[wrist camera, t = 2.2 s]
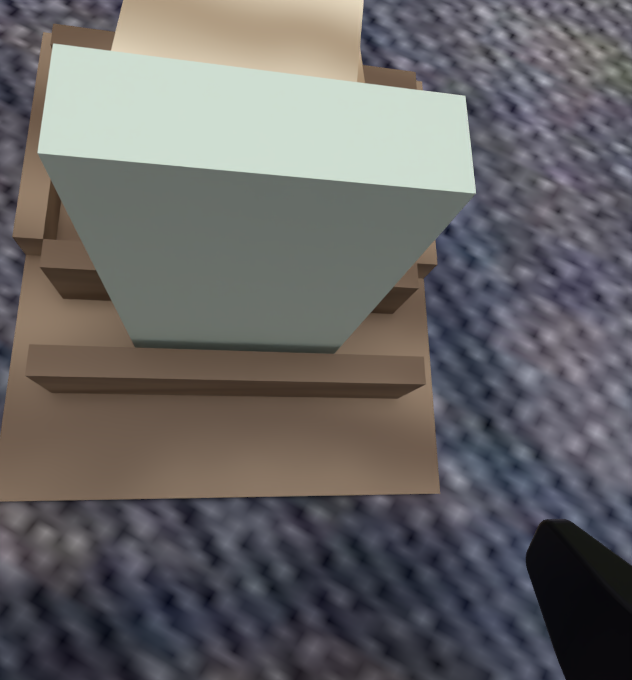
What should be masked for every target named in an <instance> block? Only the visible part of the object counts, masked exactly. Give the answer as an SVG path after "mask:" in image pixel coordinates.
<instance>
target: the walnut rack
mask: <svg viewBox="0 0 632 680" xmlns="http://www.w3.org/2000/svg"><path fill="white" fill-rule="evenodd" d="M114 36H115V32H111V31H104V30H96V29H89V28H81V27H74V26H66V25H59V24H53V29H52V33H45V32H43V38H42V44H41V51H40V57H39V64H38V71H37V77H36V84H35V91H34V97H33V104H32V110H31V117H30V124H29V130H28V137H27V144H26V150H25V157H24V163H23V170H22V177H21V183H20V190H19V197H18V203H17V210H16V217H15V223H14V230H13V236H12V237H13V238H14V240H15V241H16V242H17V244H18V245H19V246H20V248H21V249H22V250H23V252H24V253H25V254H26V258H25V265H24V272H23V279H22V287H21V294H20V301H19V308H18V315H17V322H16V329H15V336H14V343H13V350H12V357H11V364H10V371H9V378H8V385H7V392H6V399H5V406H4V413H3V420H2V427H1V435H0V501H54V500H109V499H165V498H220V497H275V496H330V495H386V494H440V487H439V474H438V461H437V448H436V435H435V422H434V409H433V395H432V382H431V369H430V356H429V343H428V330H427V317H426V304H425V291H424V278H425V277H426V276H427V275H428V274H429V273H430V271H431V270H432V269H433V268H434V267H435V266H436V265H437V255H436V243H435V240H434V241H433V243H432V244H431V245H430V246H429V247H428V248H427V249H426V251H425V252H424V253H423V254H422V255H421V256H420V257H419V258H418V260H417V261H416V262H415V263H414V264H413V265H412V266H411V267H410V269H409V270H408V271H407V272H406V273H405V274H404V275H403V277H402V278H401V279H400V280H399V281H398V282H397V283H396V284H395V286H394V287H393V288H392V289H391V290H390V291H389V292H388V294H387V295H386V296H385V297H384V298H383V299H382V300H381V301H380V303H379V304H378V305H377V306H376V307H375V308H374V309H373V310H372V312H371V313H370V314H369V315H368V316H367V317H366V318H365V320H364V321H363V322H362V323H361V324H360V325H359V326H358V327H357V329H356V330H355V331H354V332H353V333H352V334H351V335H350V337H349V338H348V339H347V340H346V341H345V342H344V343H343V344H342V346H341V347H340V348H339V349H338V350H337V351H336V352H335V353H334V354H324V353H292V352H260V351H228V350H196V349H164V348H135V346H134V344H133V342H132V340H131V338H130V336H129V334H128V332H127V330H126V328H125V326H124V324H123V322H122V320H121V318H120V316H119V314H118V312H117V310H116V309H115V307H114V305H113V303H112V301H111V299H110V297H109V295H108V293H107V291H106V289H105V287H104V285H103V283H102V281H101V279H100V277H99V275H98V273H97V271H96V269H95V267H94V265H93V263H92V261H91V259H90V257H89V255H88V253H87V251H86V249H85V247H84V245H83V243H82V241H81V239H80V237H79V235H78V233H77V231H76V229H75V227H74V225H73V223H72V221H71V219H70V217H69V215H68V213H67V211H66V209H65V207H64V205H63V203H62V201H61V199H60V197H59V195H58V193H57V191H56V189H55V187H54V185H53V183H52V181H51V179H50V177H49V175H48V173H47V171H46V169H45V167H44V165H43V163H42V161H41V159H40V157H39V155H38V153H37V152H38V145H39V138H40V131H41V124H42V117H43V110H44V103H45V96H46V89H47V82H48V75H49V68H50V61H51V54H52V48H53V44H61V45H69V46H77V47H85V48H92V49H100V50H108V51H111V48H112V44H113V40H114ZM362 66H363V73H364V79H365V83H367V84H375V85H383V86H391V87H399V88H406V89H414V90H422V91H423V89H422V82H420V81H416V73H415V72H411V71H403V70H396V69H388V68H381V67H373V66H366V65H362Z"/></svg>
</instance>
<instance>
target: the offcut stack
mask: <svg viewBox="0 0 632 680" xmlns="http://www.w3.org/2000/svg"><path fill="white" fill-rule="evenodd" d="M362 13H363V0H123V4H122V8H121V12H120V16H119V20H118V24H117V28H116V32H115V36H114V40H113V44H112V48H111V51H116V52H124V53H132V54H140V55H147V56H155V57H163V58H171V59H179V60H187V61H194V62H202V63H210V64H218V65H226V66H234V67H242V68H249V69H257V70H265V71H273V72H281V73H289V74H297V75H304V76H312V77H320V78H328V79H336V80H344V81H351V82H359V83H365V79H364V73H363V66H362V59H361V53H360V38H361V25H362Z"/></svg>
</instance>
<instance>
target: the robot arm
mask: <svg viewBox="0 0 632 680" xmlns="http://www.w3.org/2000/svg"><path fill="white" fill-rule="evenodd" d="M526 566H527V570H528V573H529V576H530V579H531V582H532V585H533V588H534V591H535V594H536V597H537V600H538V603H539V606H540V609H541V612H542V615H543V618H544V621H545V624H546V627H547V630H548V633H549V636H550V639H551V642H552V645H553V648H554V651H555V653H556V656H557V659H558V661H559V664H560V667H561V669H562V671H563V674H564V676H565V679H566V680H632V566H631V565H630V564H629V563H627V562H626V561H625V560H623V559H622V558H620V557H619V556H618V555H616V554H615V553H614V552H612V551H611V550H609V549H608V548H607V547H605V546H604V545H603V544H601V543H600V542H599V541H597V540H596V539H594V538H593V537H592V536H590V535H589V534H588V533H586V532H585V531H583V530H582V529H581V528H579V527H578V526H577V525H575V524H574V523H572V522H571V521H569V520H566V519H546V520H543V521H542V522H541V523H540V524H539V526H538V528H537V530H536V532H535V535H534V537H533V539H532V541H531V543H530V546H529V548H528V550H527V553H526Z"/></svg>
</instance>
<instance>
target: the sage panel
mask: <svg viewBox="0 0 632 680" xmlns="http://www.w3.org/2000/svg"><path fill="white" fill-rule="evenodd" d="M37 153H38V155H39V157H40V159H41V161H42V163H43V165H44V167H45V169H46V171H47V173H48V175H49V177H50V179H51V181H52V183H53V185H54V187H55V189H56V191H57V193H58V195H59V197H60V199H61V201H62V203H63V205H64V207H65V209H66V211H67V213H68V215H69V217H70V219H71V221H72V223H73V225H74V227H75V229H76V231H77V233H78V235H79V237H80V239H81V241H82V243H83V245H84V247H85V249H86V251H87V253H88V255H89V257H90V259H91V261H92V263H93V265H94V267H95V269H96V271H97V273H98V275H99V277H100V279H101V281H102V283H103V285H104V287H105V289H106V291H107V293H108V295H109V297H110V299H111V301H112V303H113V305H114V307H115V309H116V310H117V312H118V314H119V316H120V318H121V320H122V322H123V324H124V326H125V328H126V330H127V332H128V334H129V336H130V338H131V340H132V342H133V344H134V346H135V348H164V349H196V350H228V351H260V352H292V353H324V354H334V353H335V352H336V351H337V350H338V349H339V348H340V347H341V346H342V344H343V343H344V342H345V341H346V340H347V339H348V338H349V337H350V335H351V334H352V333H353V332H354V331H355V330H356V329H357V327H358V326H359V325H360V324H361V323H362V322H363V321H364V320H365V318H366V317H367V316H368V315H369V314H370V313H371V312H372V310H373V309H374V308H375V307H376V306H377V305H378V304H379V303H380V301H381V300H382V299H383V298H384V297H385V296H386V295H387V294H388V292H389V291H390V290H391V289H392V288H393V287H394V286H395V284H396V283H397V282H398V281H399V280H400V279H401V278H402V277H403V275H404V274H405V273H406V272H407V271H408V270H409V269H410V267H411V266H412V265H413V264H414V263H415V262H416V261H417V260H418V258H419V257H420V256H421V255H422V254H423V253H424V252H425V251H426V249H427V248H428V247H429V246H430V245H431V244H432V243H433V241H434V240H435V239H436V238H437V237H438V236H439V235H440V234H441V232H442V231H443V230H444V229H445V228H446V227H447V226H448V225H449V223H450V222H451V221H452V220H453V219H454V218H455V217H456V215H457V214H458V213H459V212H460V211H461V210H462V209H463V208H464V206H465V205H466V204H467V203H468V202H469V201H470V200H471V198H472V197H473V196H474V195H475V194H476V190H475V181H474V171H473V162H472V153H471V144H470V135H469V126H468V117H467V108H466V99H465V96H461V95H454V94H446V93H438V92H430V91H422V90H414V89H406V88H399V87H391V86H383V85H375V84H367V83H359V82H351V81H344V80H336V79H328V78H320V77H312V76H304V75H297V74H289V73H281V72H273V71H265V70H257V69H249V68H242V67H234V66H226V65H218V64H210V63H202V62H194V61H187V60H179V59H171V58H163V57H155V56H147V55H140V54H132V53H124V52H116V51H108V50H100V49H92V48H85V47H77V46H69V45H61V44H53V48H52V54H51V61H50V68H49V75H48V82H47V89H46V96H45V103H44V110H43V117H42V124H41V131H40V138H39V145H38V152H37Z"/></svg>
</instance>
